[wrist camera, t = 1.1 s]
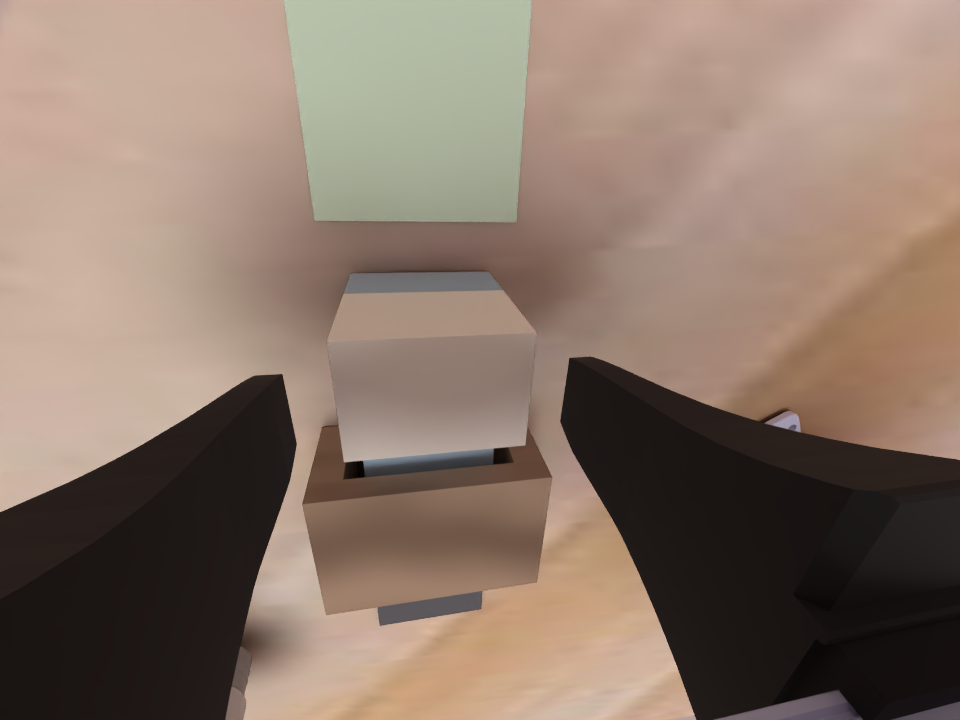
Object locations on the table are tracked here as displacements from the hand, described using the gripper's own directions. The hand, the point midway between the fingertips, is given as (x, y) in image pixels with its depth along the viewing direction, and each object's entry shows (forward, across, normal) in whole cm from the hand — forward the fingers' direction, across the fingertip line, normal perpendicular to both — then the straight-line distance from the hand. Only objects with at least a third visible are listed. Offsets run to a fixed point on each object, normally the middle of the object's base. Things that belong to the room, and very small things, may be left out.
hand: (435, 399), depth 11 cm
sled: (+6, 0, +5) cm, 8 cm away
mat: (+6, 0, -7) cm, 9 cm away
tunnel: (+6, 0, +8) cm, 10 cm away
